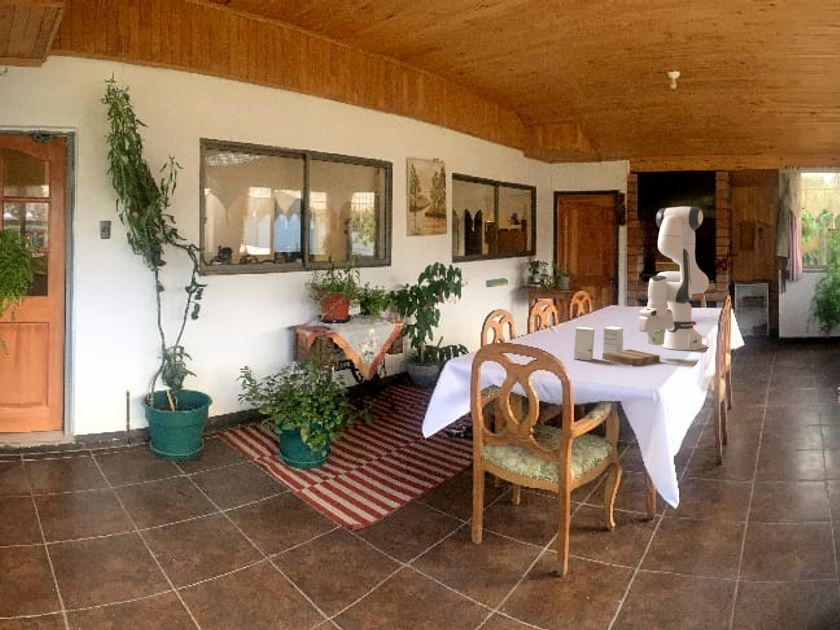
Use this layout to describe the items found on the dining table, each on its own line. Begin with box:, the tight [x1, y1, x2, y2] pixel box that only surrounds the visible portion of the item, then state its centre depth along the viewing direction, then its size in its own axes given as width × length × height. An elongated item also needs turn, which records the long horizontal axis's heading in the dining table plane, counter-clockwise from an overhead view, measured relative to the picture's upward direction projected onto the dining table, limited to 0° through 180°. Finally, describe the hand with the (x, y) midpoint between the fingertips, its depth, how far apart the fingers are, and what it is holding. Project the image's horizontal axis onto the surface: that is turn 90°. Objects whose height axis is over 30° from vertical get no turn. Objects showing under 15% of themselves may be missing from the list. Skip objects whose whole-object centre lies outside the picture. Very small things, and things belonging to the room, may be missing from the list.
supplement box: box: [602, 325, 624, 354], centre depth 346 cm, size 7×7×13 cm
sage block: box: [647, 330, 665, 346], centre depth 334 cm, size 5×5×6 cm
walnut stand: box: [602, 349, 661, 367], centre depth 328 cm, size 18×18×3 cm
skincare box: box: [573, 326, 596, 361], centre depth 331 cm, size 8×6×15 cm
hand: (656, 339), depth 334 cm, fingers closed on sage block, 5 cm apart
